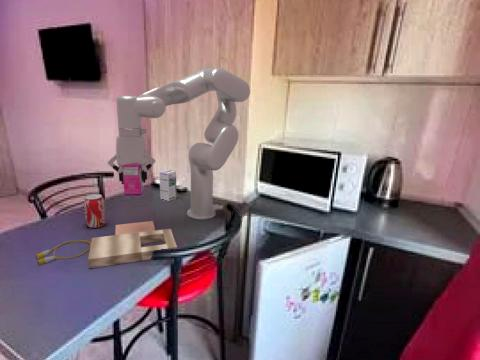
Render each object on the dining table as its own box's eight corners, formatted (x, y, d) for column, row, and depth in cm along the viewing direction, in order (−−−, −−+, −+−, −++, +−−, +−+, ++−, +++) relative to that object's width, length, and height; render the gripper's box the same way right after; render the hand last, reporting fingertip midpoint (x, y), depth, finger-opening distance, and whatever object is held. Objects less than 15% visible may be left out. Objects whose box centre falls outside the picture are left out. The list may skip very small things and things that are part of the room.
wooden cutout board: (170, 236, 109) (170, 228, 108) (177, 255, 97) (177, 247, 96) (92, 245, 100) (92, 237, 99) (89, 268, 87) (88, 259, 87)
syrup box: (168, 201, 143) (168, 173, 139) (160, 199, 146) (159, 171, 142) (176, 198, 148) (176, 170, 144) (168, 196, 150) (167, 168, 146)
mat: (152, 222, 120) (152, 221, 120) (156, 235, 109) (156, 234, 109) (115, 226, 115) (115, 224, 115) (115, 240, 104) (115, 238, 104)
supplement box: (127, 190, 110) (126, 160, 107) (144, 190, 111) (142, 161, 107) (123, 195, 105) (121, 164, 101) (140, 196, 105) (139, 164, 102)
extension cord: (38, 248, 97) (37, 243, 97) (91, 240, 105) (91, 235, 104) (33, 268, 87) (32, 262, 87) (92, 257, 94) (92, 251, 94)
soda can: (98, 230, 111) (95, 200, 108) (82, 227, 112) (78, 198, 109) (110, 222, 118) (107, 194, 114) (94, 220, 119) (91, 192, 116)
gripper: (155, 131, 108) (156, 178, 113) (103, 131, 101) (107, 181, 107) (157, 134, 101) (159, 183, 106) (102, 134, 95) (107, 187, 100)
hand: (133, 182), depth 106 cm, fingers closed on supplement box, 6 cm apart
